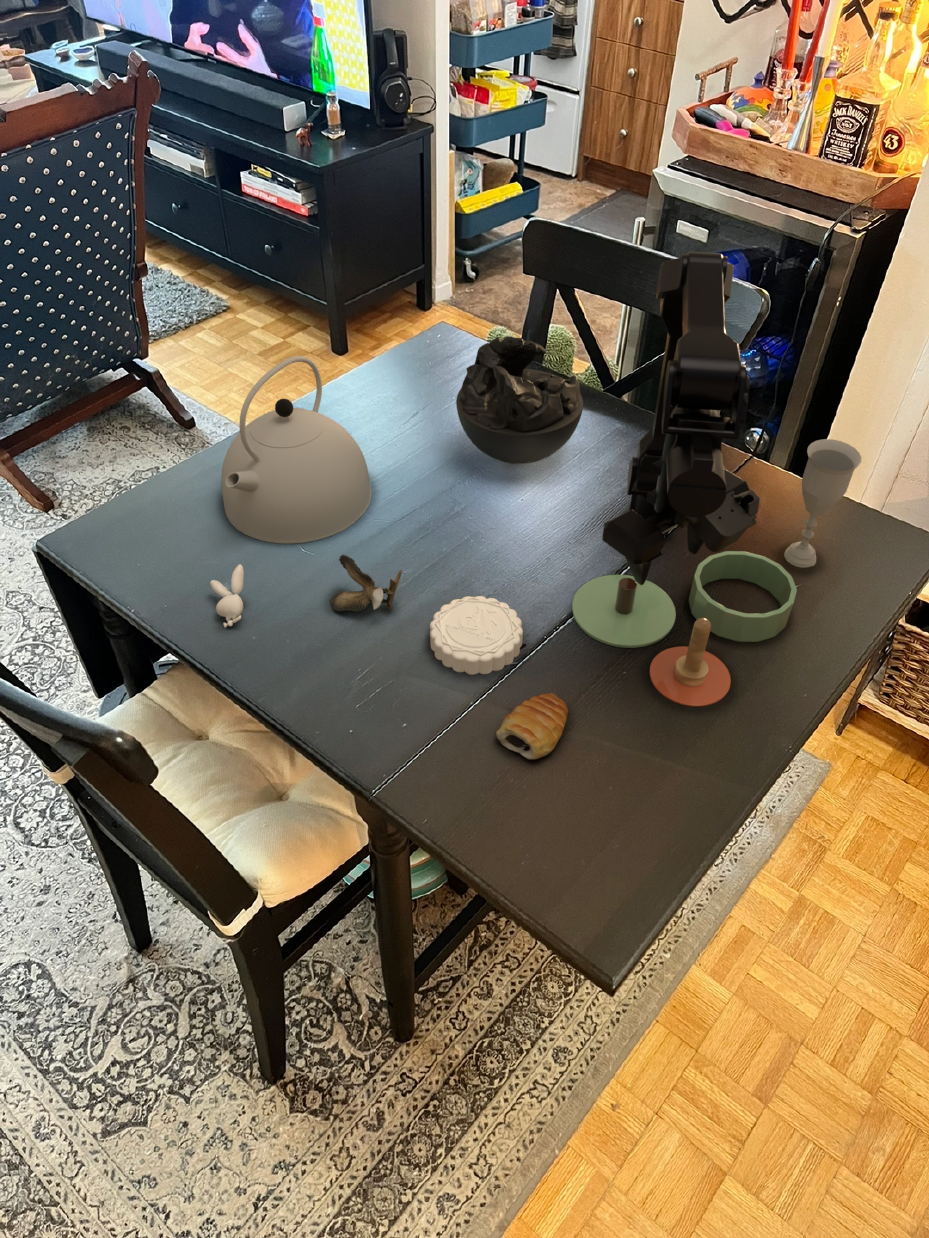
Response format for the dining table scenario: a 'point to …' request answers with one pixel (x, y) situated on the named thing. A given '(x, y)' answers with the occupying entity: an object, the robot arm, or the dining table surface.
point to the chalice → (822, 490)
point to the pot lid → (623, 611)
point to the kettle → (293, 472)
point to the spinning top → (683, 694)
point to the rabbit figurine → (230, 597)
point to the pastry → (534, 726)
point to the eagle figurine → (368, 594)
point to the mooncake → (476, 635)
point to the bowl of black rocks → (517, 403)
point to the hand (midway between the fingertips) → (666, 567)
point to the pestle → (694, 656)
